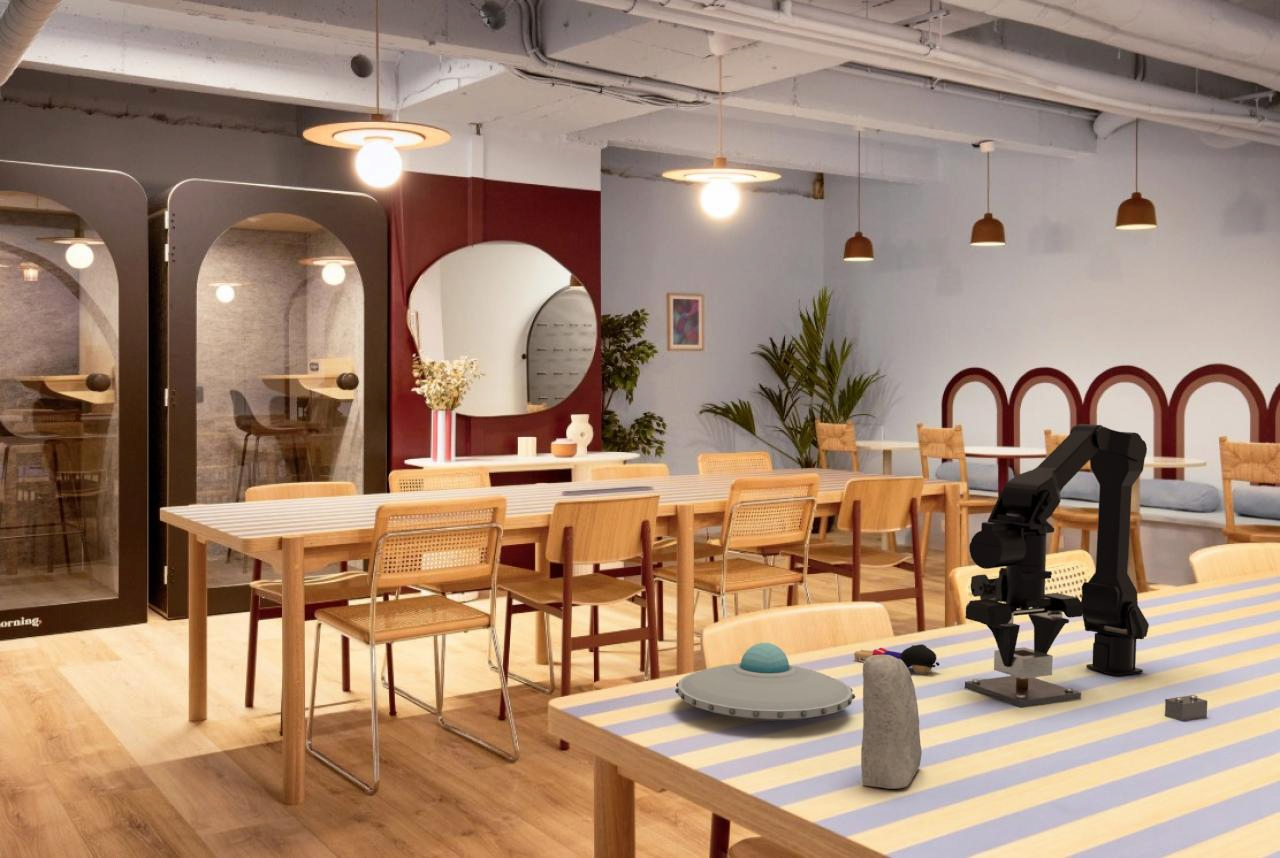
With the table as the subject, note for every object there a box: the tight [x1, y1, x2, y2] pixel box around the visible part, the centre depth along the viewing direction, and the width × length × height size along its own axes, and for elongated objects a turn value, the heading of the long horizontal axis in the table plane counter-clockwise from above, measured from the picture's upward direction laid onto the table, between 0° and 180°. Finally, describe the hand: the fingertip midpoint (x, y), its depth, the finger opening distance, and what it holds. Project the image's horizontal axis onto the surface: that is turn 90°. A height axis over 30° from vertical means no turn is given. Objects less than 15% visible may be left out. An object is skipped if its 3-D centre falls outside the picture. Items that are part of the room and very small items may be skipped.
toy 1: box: [674, 642, 856, 721], centre depth 173 cm, size 26×26×10 cm
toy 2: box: [854, 643, 940, 675], centre depth 201 cm, size 10×5×15 cm
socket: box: [993, 647, 1054, 679], centre depth 186 cm, size 6×6×3 cm
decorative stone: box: [860, 655, 922, 790], centre depth 146 cm, size 11×6×15 cm, turn 150°
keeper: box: [964, 675, 1082, 708], centre depth 186 cm, size 12×12×5 cm
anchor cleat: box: [1164, 694, 1208, 722], centre depth 174 cm, size 5×3×3 cm, turn 116°
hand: (1022, 664), depth 186 cm, fingers closed on socket, 6 cm apart
